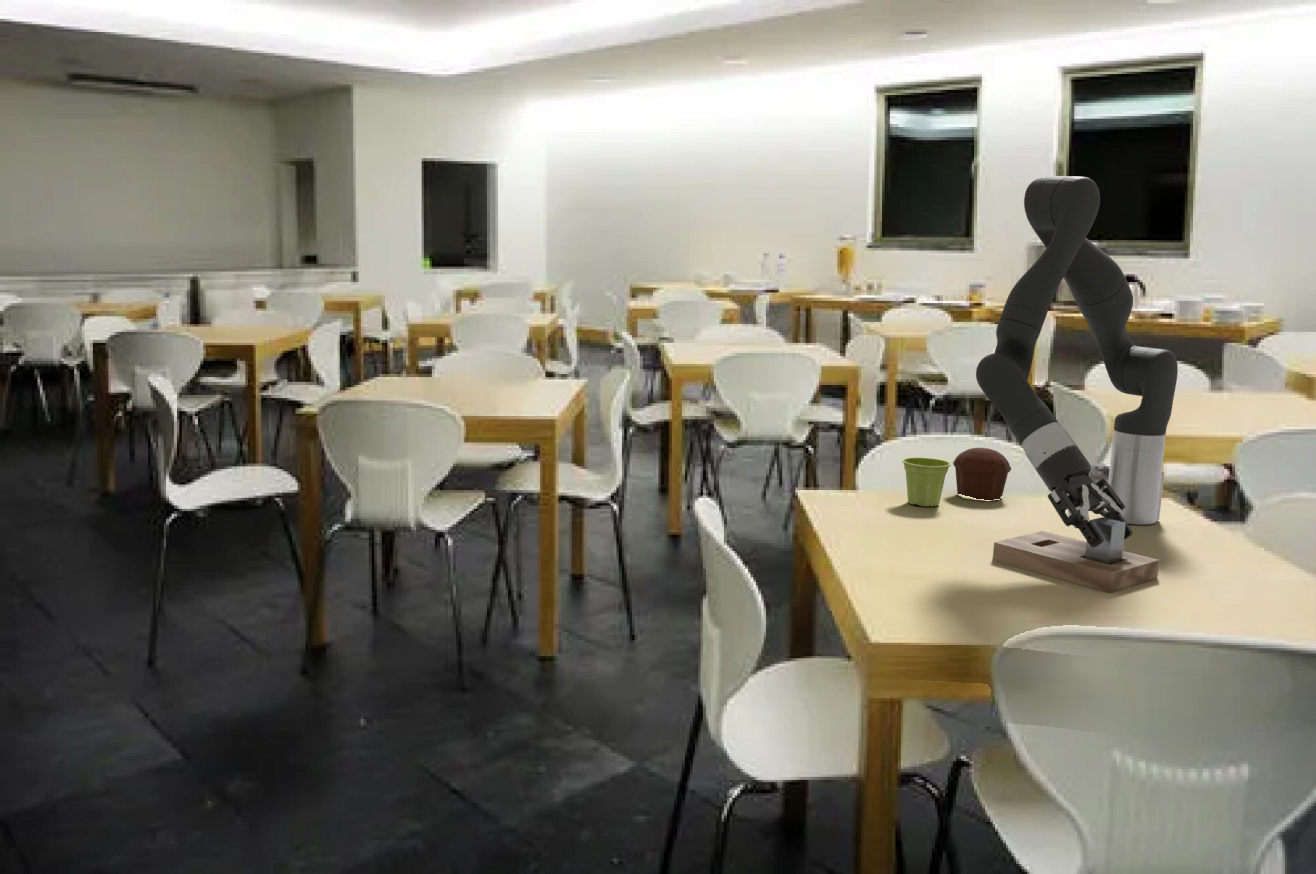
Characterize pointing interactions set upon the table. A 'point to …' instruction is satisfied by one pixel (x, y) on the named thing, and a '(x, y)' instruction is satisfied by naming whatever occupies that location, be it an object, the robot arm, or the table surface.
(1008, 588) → the table surface
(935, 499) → the plant pot
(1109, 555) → the square bit
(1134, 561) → the plate
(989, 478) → the muffin
